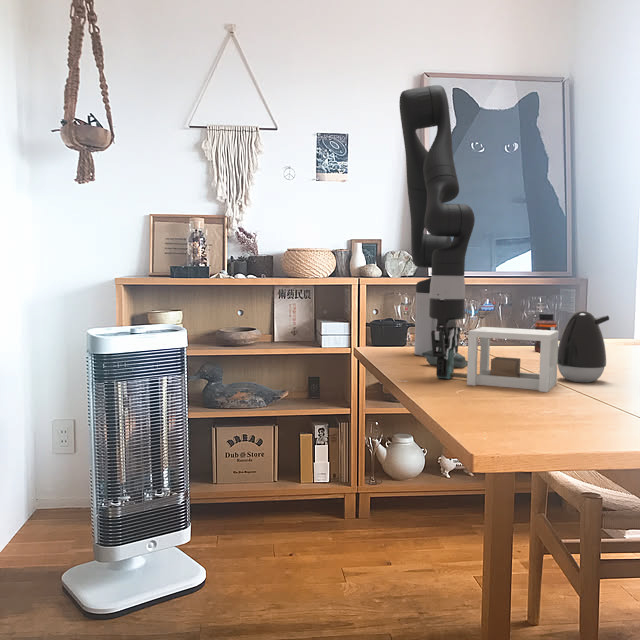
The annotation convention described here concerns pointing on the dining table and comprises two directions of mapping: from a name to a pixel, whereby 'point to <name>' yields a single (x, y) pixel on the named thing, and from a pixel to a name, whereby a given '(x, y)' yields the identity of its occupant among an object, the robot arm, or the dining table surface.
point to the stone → (458, 359)
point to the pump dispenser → (582, 348)
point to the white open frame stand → (526, 380)
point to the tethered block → (498, 367)
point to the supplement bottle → (544, 326)
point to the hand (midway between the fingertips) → (445, 374)
